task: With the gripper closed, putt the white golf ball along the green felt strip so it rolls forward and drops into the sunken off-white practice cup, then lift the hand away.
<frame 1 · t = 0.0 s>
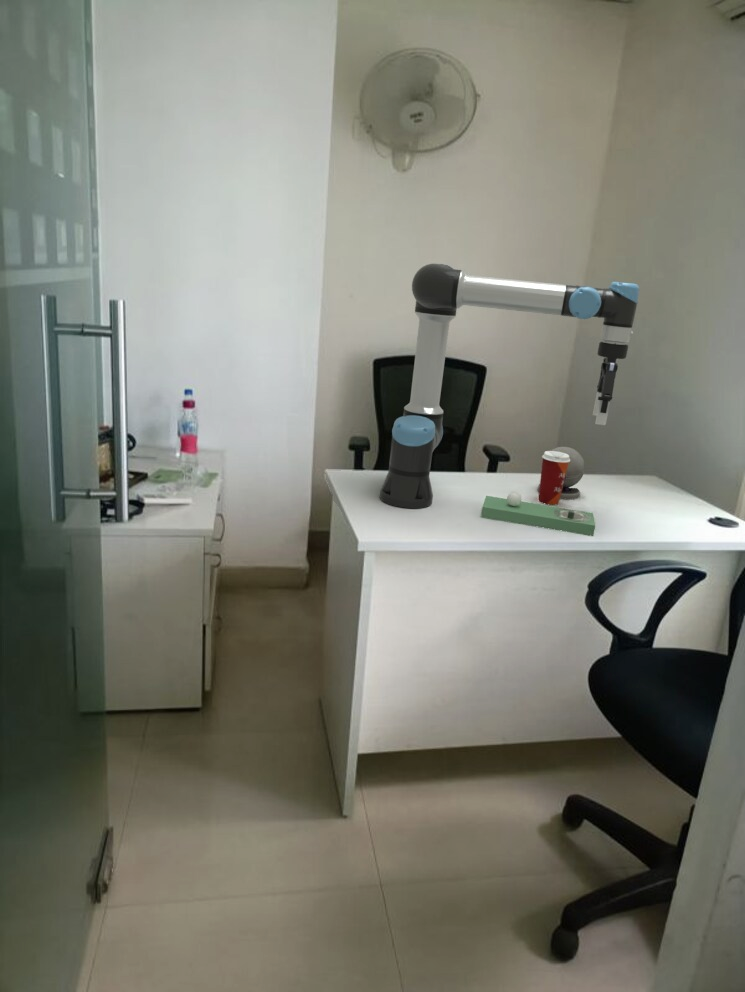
hand: (598, 420, 196), 28 cm above the table, fingers open, 13 cm apart
ball: (514, 499, 196), point 5 cm above the table, touching putting strip
putting strip: (536, 520, 197), on the table
webcam: (557, 493, 224), on the table
coffee cup: (548, 502, 214), on the table
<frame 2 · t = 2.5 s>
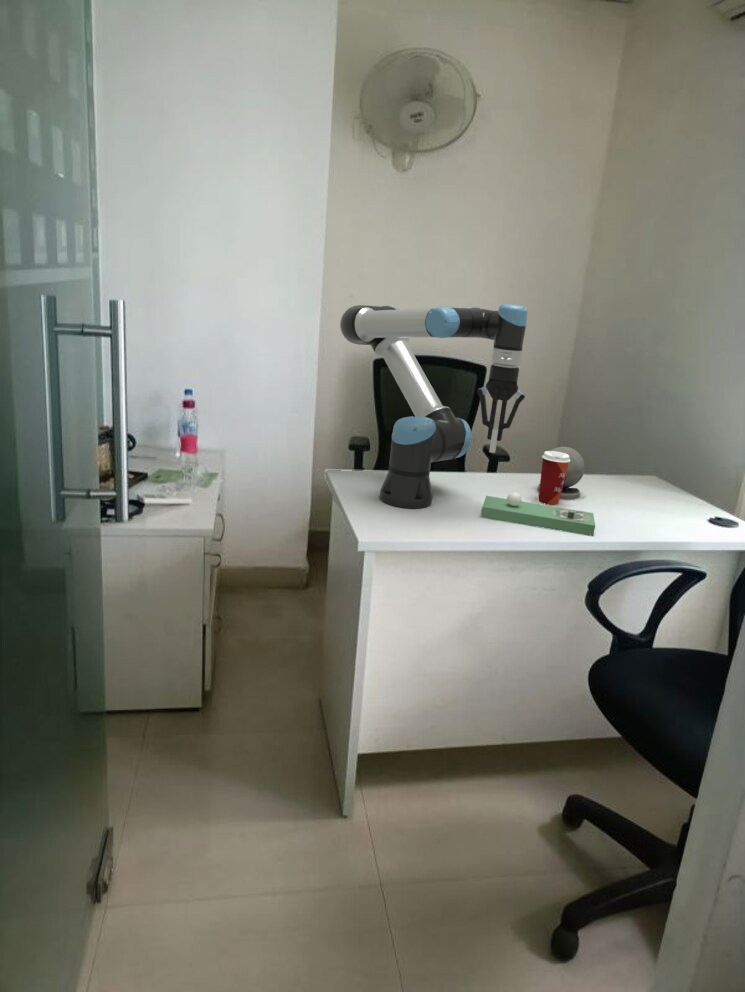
hand: (492, 451, 194), 17 cm above the table, fingers closed
nothing on the table moved.
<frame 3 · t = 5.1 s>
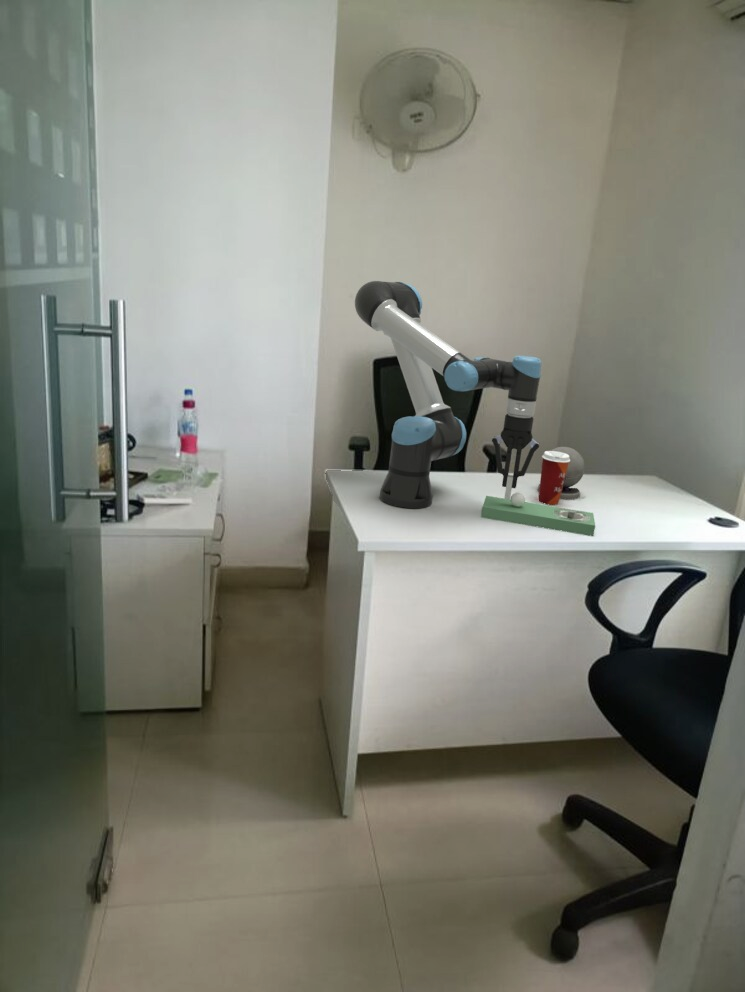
hand: (507, 498, 197), 5 cm above the table, fingers closed
ball: (517, 499, 196), point 5 cm above the table, tilted 25°, touching putting strip
everything else where it was.
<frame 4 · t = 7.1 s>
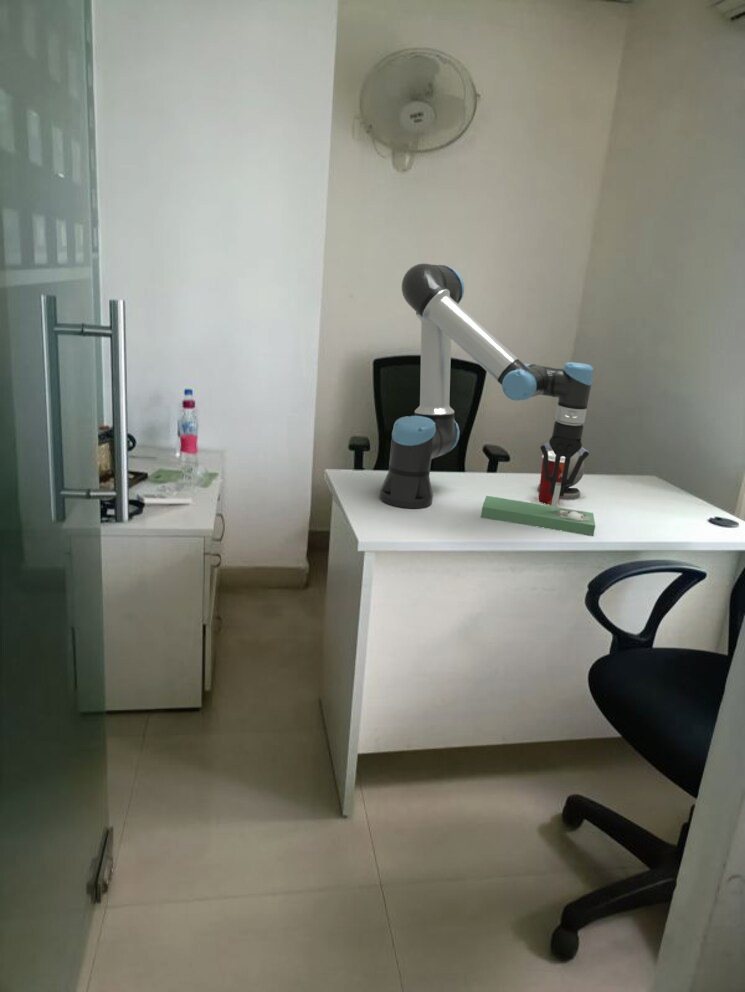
hand: (554, 506, 194), 5 cm above the table, fingers closed
ball: (573, 518, 194), point 2 cm above the table, tilted 138°, touching putting strip
everything else where it was.
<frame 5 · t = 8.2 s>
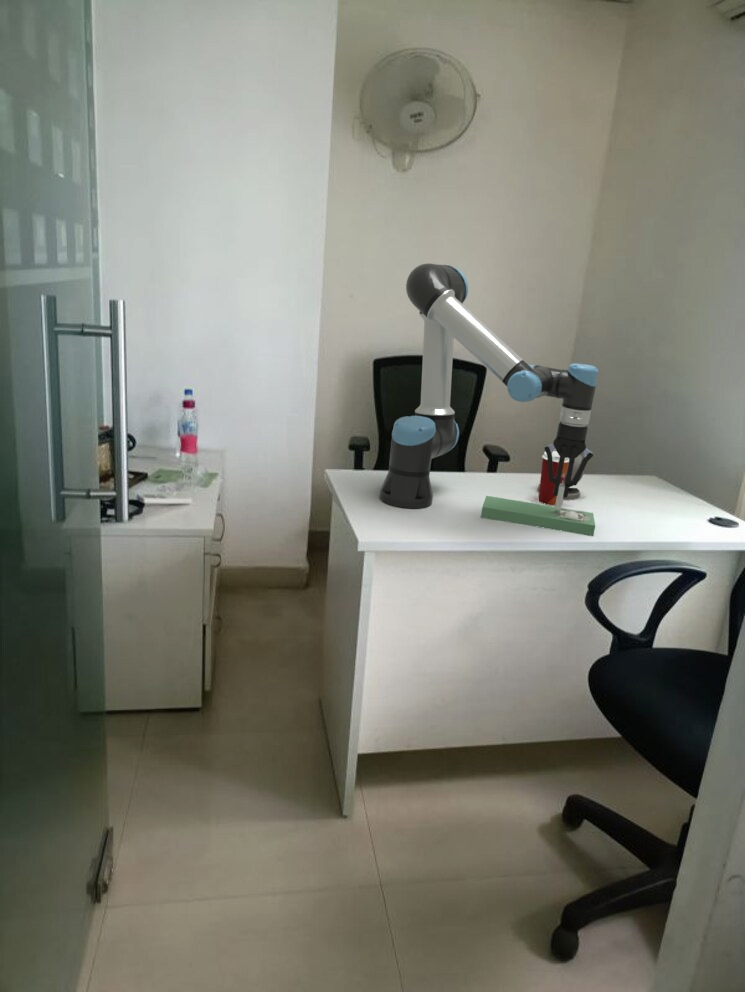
hand: (557, 507, 194), 5 cm above the table, fingers closed
ball: (571, 518, 194), point 2 cm above the table, tilted 116°, touching putting strip
everything else where it was.
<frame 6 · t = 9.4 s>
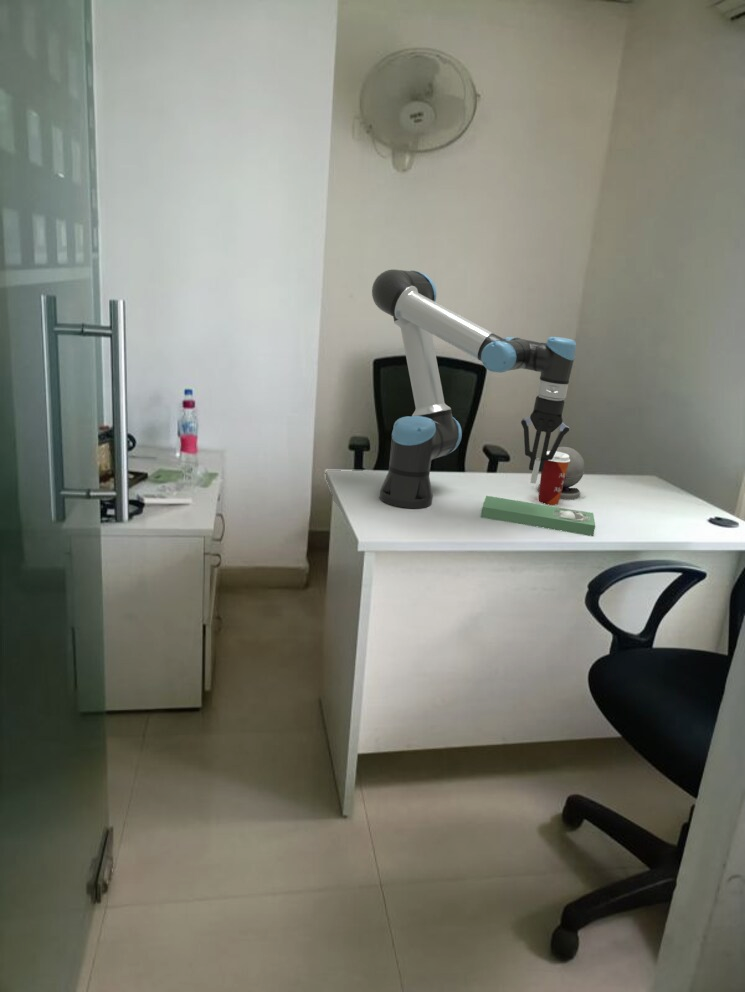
hand: (533, 481, 194), 11 cm above the table, fingers closed
ball: (567, 517, 194), point 2 cm above the table, tilted 91°, touching putting strip
everything else where it was.
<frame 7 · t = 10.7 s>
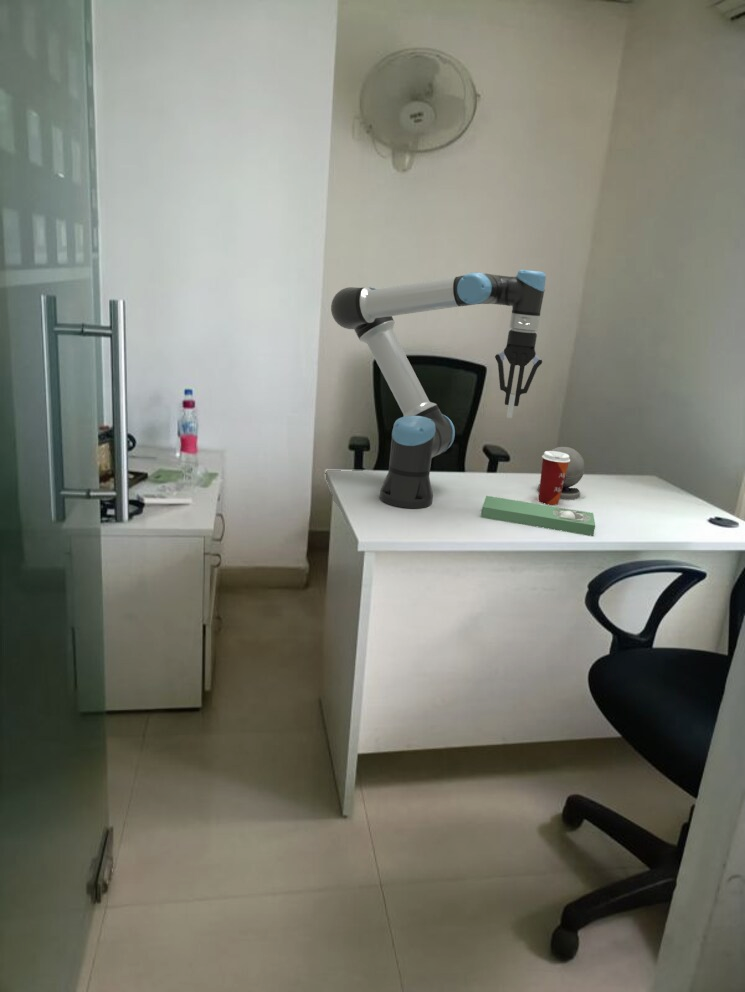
hand: (509, 416, 197), 26 cm above the table, fingers closed
nothing on the table moved.
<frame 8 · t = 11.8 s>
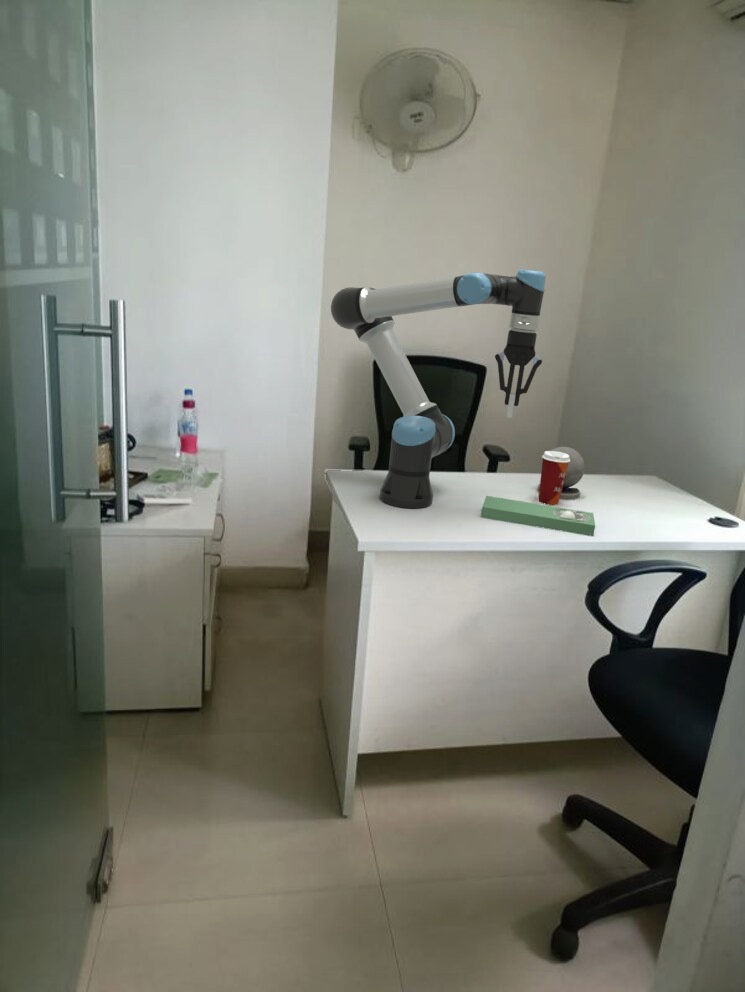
hand: (509, 416, 197), 26 cm above the table, fingers closed
nothing on the table moved.
at the end: ball 0.9 cm from the target spot on the putting strip, point 2.2 cm above the putting strip's base; ball moved 15.4 cm from its start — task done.
